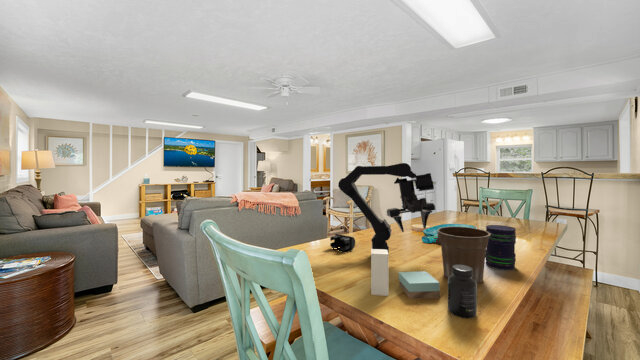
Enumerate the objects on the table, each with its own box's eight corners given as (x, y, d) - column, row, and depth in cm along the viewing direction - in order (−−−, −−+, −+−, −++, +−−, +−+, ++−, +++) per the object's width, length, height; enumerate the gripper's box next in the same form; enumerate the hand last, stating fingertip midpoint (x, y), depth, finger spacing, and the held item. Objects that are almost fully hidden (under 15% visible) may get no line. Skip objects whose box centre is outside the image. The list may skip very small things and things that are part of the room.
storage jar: (486, 268, 106) (486, 228, 106) (483, 260, 115) (484, 224, 115) (518, 271, 102) (518, 231, 101) (512, 263, 111) (513, 226, 110)
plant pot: (469, 290, 86) (469, 239, 86) (427, 273, 101) (427, 229, 100) (500, 280, 94) (501, 233, 93) (457, 266, 108) (457, 224, 108)
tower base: (410, 300, 81) (410, 292, 81) (399, 287, 90) (399, 279, 90) (440, 299, 82) (440, 290, 82) (426, 286, 91) (426, 278, 91)
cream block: (371, 294, 84) (371, 253, 84) (371, 287, 89) (371, 248, 89) (388, 295, 83) (388, 254, 83) (387, 288, 88) (387, 249, 88)
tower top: (409, 291, 81) (409, 283, 81) (398, 279, 90) (398, 272, 90) (439, 290, 82) (439, 282, 82) (425, 278, 91) (425, 271, 91)
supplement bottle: (442, 306, 77) (442, 263, 76) (466, 305, 77) (466, 262, 77) (456, 320, 70) (457, 272, 69) (482, 318, 70) (483, 271, 70)
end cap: (355, 250, 131) (355, 235, 131) (346, 253, 126) (346, 238, 126) (339, 246, 138) (339, 232, 138) (329, 249, 133) (329, 235, 133)
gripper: (391, 197, 108) (397, 237, 108) (438, 189, 109) (445, 229, 108) (383, 196, 119) (389, 232, 119) (426, 189, 120) (432, 225, 119)
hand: (413, 230), depth 116 cm, fingers open, 9 cm apart
